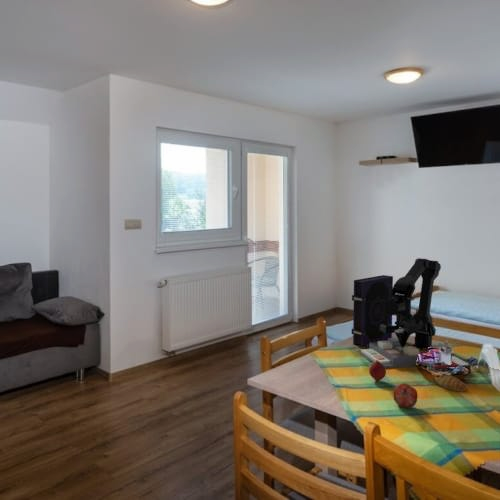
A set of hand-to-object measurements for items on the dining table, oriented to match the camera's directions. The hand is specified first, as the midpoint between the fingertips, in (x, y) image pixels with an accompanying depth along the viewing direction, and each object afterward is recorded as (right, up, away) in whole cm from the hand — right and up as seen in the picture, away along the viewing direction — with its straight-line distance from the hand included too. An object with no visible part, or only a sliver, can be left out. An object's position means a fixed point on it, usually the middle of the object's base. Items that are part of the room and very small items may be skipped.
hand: (402, 347), depth 194 cm
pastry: (+7, -8, -31) cm, 32 cm away
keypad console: (-6, -5, -1) cm, 7 cm away
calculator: (+11, -6, -14) cm, 20 cm away
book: (-6, -2, +25) cm, 26 cm away
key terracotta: (-6, -4, -4) cm, 8 cm away
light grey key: (-7, -1, +2) cm, 7 cm away
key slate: (-1, -1, +6) cm, 7 cm away
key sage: (0, -3, 0) cm, 3 cm away
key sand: (+1, -2, -6) cm, 7 cm away
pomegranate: (-15, -9, -46) cm, 49 cm away
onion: (-18, -7, -25) cm, 32 cm away
